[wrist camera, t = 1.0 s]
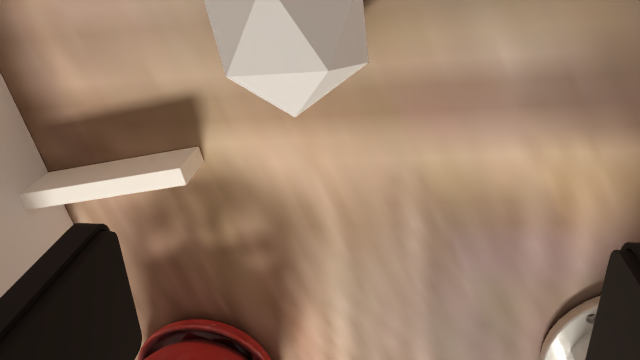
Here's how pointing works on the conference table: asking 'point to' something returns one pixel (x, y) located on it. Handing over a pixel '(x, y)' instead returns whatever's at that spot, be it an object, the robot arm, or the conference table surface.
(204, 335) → the plant pot
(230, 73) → the die
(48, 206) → the two-post plank stand
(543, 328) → the conference table surface
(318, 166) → the conference table surface
